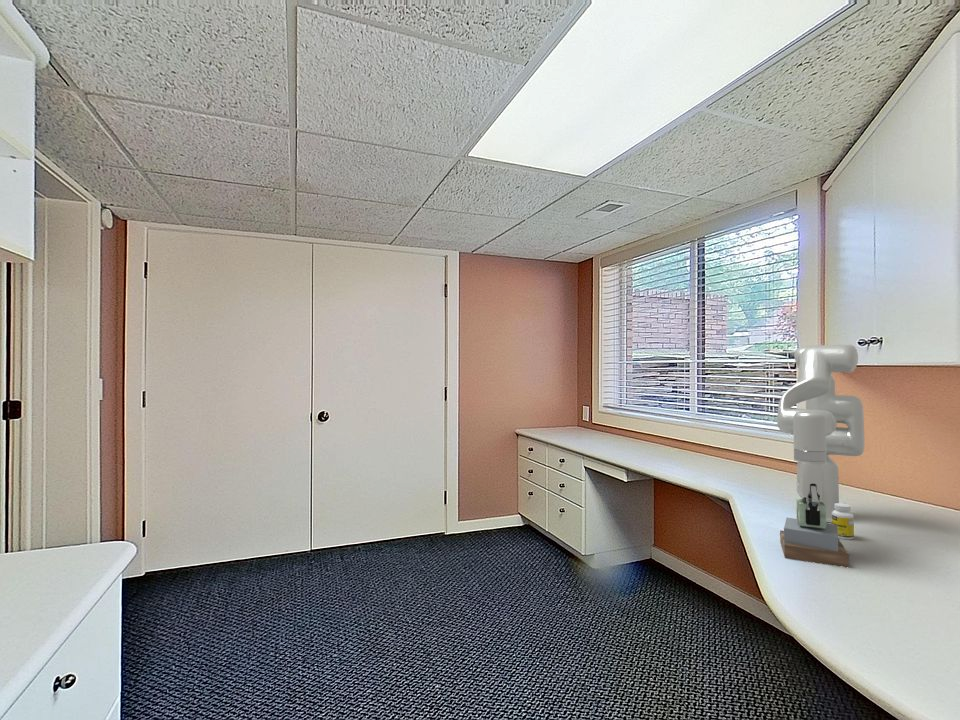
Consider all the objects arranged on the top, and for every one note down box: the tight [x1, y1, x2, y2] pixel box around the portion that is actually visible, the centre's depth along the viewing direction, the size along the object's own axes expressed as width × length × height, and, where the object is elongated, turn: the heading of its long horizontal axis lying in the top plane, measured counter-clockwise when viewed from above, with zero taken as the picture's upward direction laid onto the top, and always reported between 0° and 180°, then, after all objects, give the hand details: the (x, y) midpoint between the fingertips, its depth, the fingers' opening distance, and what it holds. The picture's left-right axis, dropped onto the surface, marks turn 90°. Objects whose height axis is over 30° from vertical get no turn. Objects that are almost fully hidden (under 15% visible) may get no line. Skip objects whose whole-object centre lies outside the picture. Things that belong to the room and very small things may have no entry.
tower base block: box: [779, 530, 850, 568], centre depth 135 cm, size 14×14×4 cm
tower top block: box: [783, 517, 839, 552], centre depth 136 cm, size 12×12×4 cm
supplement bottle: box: [831, 502, 855, 541], centre depth 150 cm, size 5×5×10 cm
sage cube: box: [795, 498, 827, 529], centre depth 136 cm, size 6×6×6 cm
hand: (810, 520), depth 136 cm, fingers closed on sage cube, 6 cm apart
